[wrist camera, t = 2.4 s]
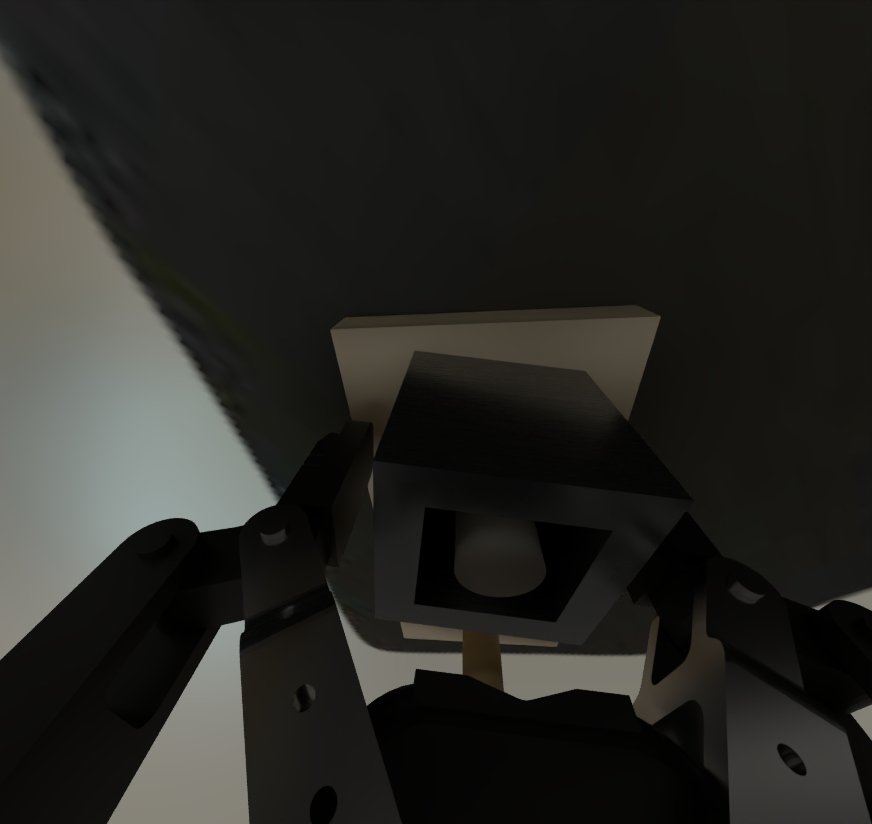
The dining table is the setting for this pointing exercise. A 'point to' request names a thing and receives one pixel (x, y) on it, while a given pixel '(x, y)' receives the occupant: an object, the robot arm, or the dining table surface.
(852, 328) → the dining table surface
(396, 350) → the board
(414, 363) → the collar
